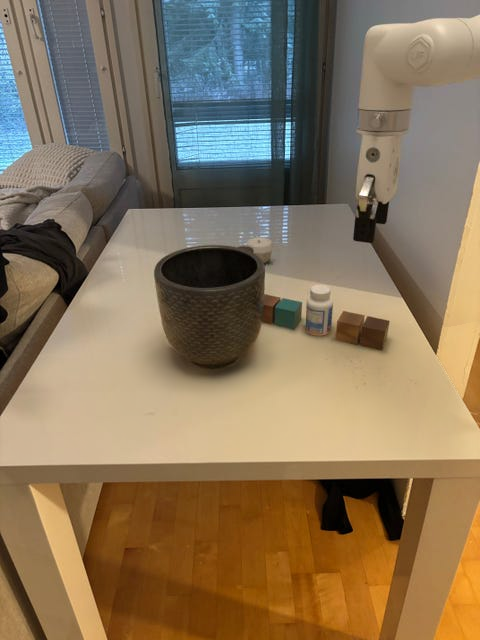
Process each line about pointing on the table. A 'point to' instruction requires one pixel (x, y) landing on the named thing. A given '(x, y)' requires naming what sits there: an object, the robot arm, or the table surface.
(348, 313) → the block
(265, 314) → the block
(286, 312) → the block
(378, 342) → the block
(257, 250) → the white pillar candle
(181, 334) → the planter
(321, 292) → the pill bottle
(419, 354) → the table surface
